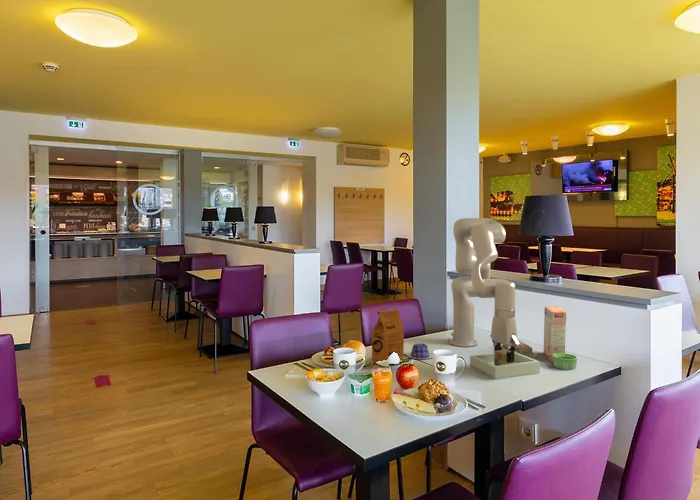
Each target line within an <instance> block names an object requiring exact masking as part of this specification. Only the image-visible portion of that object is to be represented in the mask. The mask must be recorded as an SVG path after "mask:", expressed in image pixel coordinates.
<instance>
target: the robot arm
mask: <svg viewBox="0 0 700 500" xmlns="http://www.w3.org/2000/svg"><path fill="white" fill-rule="evenodd" d="M452 231H453V232H452V233H453V236H454V240H455V270H456V273H458V275H459V274H460V275H470V276H458V277H455V278H454V279H453V280H451V286H450V287H451V293H452V294H451V295H452V301H453V303H452V304H453V306H452V307H453V310H452V311H453V313H452V315H453V316H452V317H453V319H452V321H453V328H452V329H453V332H450V335H451V337H452V338H451V339H450V340H449V343H450V345H452V346H456V347H463V348H465V347H467V348H468V347H475V346H477V345H478V341H477V340H476V339H475V307H474V304H473V302H472V301H471V299H470V298H481V299H494V310H493V311H494V313H493V316H492V317H493V318H492V322H491V331H490V332H491V334H490V335H489V336H490V338H491V341H492V343H493V347H494V348H493V351H499V350H502V347H501V345H506V346H507V350H508V352H507V362H508V363H510V362H514V354H515V352H516V349H517V348H518V346H519V342H518V341H517V340H518V339H517V338H518V335H517V333H518V330H517V322H516V284H515V283H514V282H513V281H508V280H507V279H506V278H505V279H504V278H491V263H493V262H495V261H496V260H497V258H498V256H499V253H498V250H497V247H496V244H501V243H504V242H505V240H506V235H507V234H506V229H505V227H504V225H502V224H501V223H500V222H498V221H496V220H495V219H492V218H487V217H483V218H481V217H480V218H479V217H478V218H477V217H467V218H463V217H462V218H459V219H457V220H456V221H455V222H454V223H453V230H452ZM510 343H511V344H510ZM510 346H512V347H511V348H510Z"/></svg>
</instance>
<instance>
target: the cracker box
mask: <svg viewBox="0 0 700 500" xmlns="http://www.w3.org/2000/svg"><path fill="white" fill-rule="evenodd" d="M543 315H544V319H543V322H544V323H543V327H544V328H543V354H544V356H545V357H546V358H547V360H548V361H549V362H551V363H553V354H555V353H566V329H567V328H566V327H567V325H566V324H567V311H565V310H563V309H562V308H561V307H559V306H552V305H551V306H544V314H543Z"/></svg>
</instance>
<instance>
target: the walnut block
mask: <svg viewBox="0 0 700 500" xmlns="http://www.w3.org/2000/svg"><path fill="white" fill-rule="evenodd" d="M493 351H494V350H493ZM507 352H508V351H507V350H499V351H494V352H493V353H494V365H495V366H500V365H507V364H513V362H510V363H508V362H507Z"/></svg>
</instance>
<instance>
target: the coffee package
mask: <svg viewBox="0 0 700 500" xmlns="http://www.w3.org/2000/svg"><path fill="white" fill-rule="evenodd" d="M377 314H378V316H379V317H378V318H377V321H376V324H375V326H374V328H373V331H372V335H371V361H372V364H374V363H376V362H378V361H383V360H387V359H388V357H389V356H390V355H391V354H392V353H393V352H395V353H397V354H398V356H399V358H400V360H403V359H404V348H405V346H404V345H405V338H404V336H405V334H404V325H403V321H402V317H401V315H400V311H399V310H398V307H395V308H393V309H391V310H378V311H377ZM403 361H404V360H403Z"/></svg>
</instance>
